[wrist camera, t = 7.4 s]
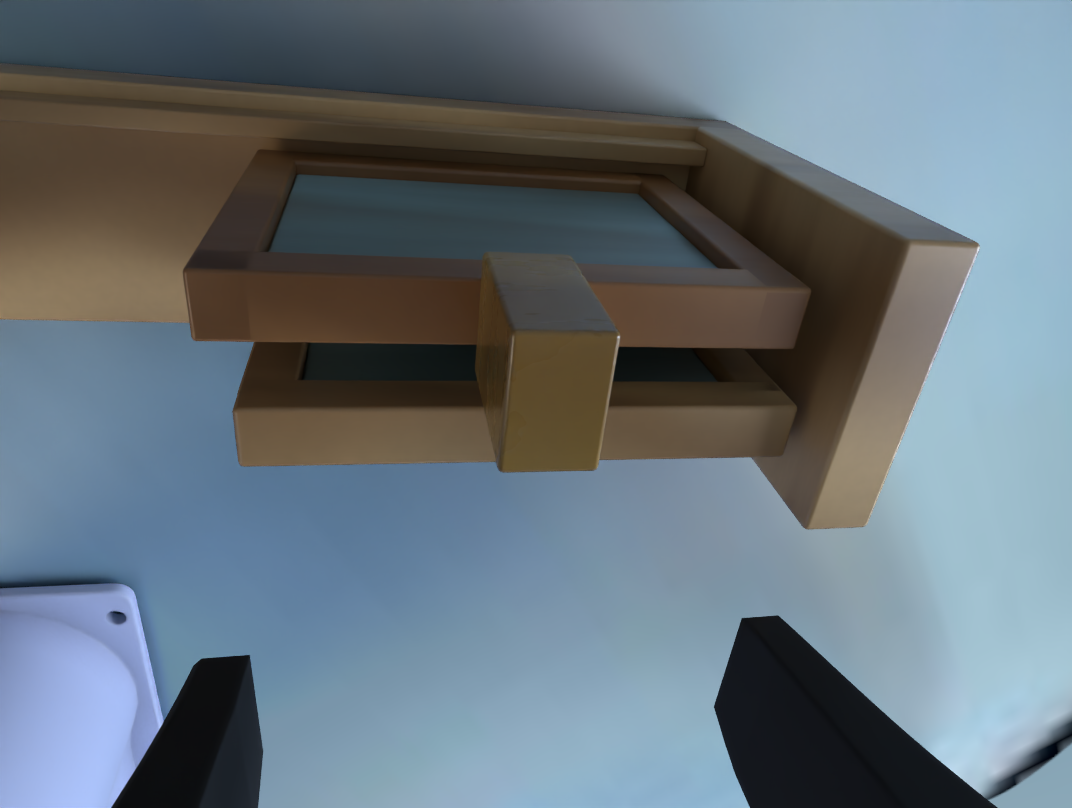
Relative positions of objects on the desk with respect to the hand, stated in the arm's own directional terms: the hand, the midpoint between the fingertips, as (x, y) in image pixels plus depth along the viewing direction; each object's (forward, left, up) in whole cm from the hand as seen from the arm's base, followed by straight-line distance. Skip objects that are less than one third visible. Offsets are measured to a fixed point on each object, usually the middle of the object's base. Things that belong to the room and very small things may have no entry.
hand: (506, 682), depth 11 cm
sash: (+5, 0, -9) cm, 10 cm away
